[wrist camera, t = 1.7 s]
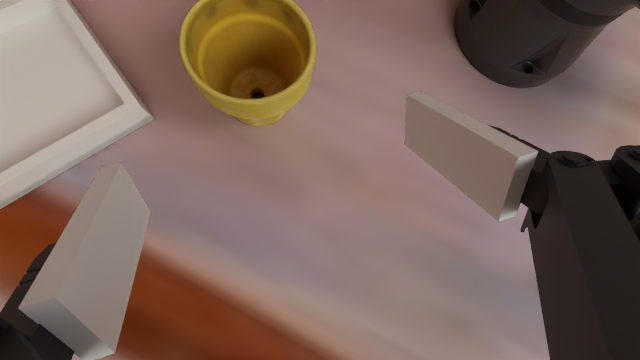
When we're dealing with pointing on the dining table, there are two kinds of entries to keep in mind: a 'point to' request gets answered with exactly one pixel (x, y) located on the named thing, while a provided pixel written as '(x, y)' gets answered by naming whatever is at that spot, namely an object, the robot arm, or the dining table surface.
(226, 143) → the dining table surface
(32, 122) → the white tray
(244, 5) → the plant pot
